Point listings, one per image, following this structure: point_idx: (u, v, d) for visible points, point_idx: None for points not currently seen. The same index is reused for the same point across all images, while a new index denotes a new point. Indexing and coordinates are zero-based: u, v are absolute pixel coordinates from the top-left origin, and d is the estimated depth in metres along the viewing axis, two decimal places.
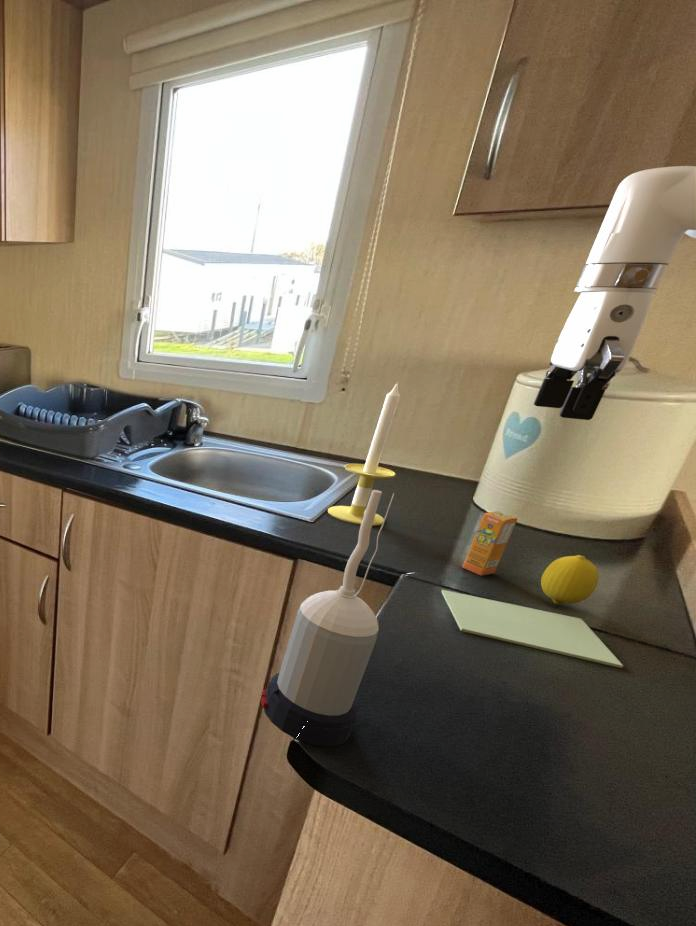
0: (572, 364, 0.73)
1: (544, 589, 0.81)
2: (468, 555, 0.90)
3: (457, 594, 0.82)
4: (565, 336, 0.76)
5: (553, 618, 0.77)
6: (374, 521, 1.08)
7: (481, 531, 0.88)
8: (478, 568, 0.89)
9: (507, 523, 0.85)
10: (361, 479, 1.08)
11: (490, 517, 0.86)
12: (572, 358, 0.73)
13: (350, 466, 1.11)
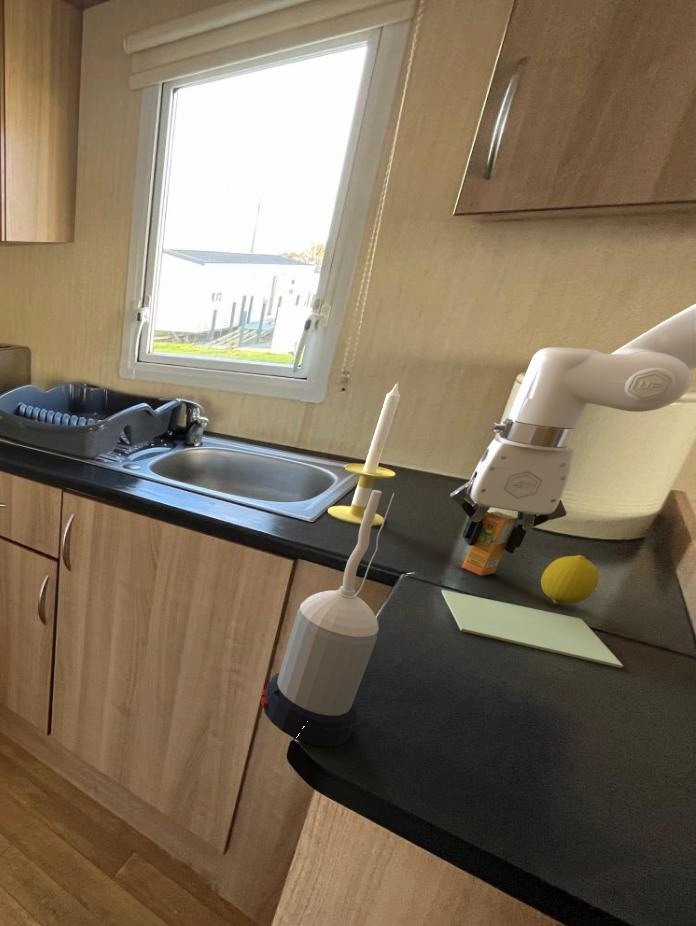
0: None
1: (544, 589, 0.81)
2: (468, 555, 0.90)
3: (457, 594, 0.82)
4: None
5: (553, 618, 0.77)
6: (374, 521, 1.08)
7: (481, 532, 0.88)
8: (478, 568, 0.89)
9: (507, 523, 0.85)
10: (361, 479, 1.08)
11: (490, 517, 0.86)
12: None
13: (350, 466, 1.11)
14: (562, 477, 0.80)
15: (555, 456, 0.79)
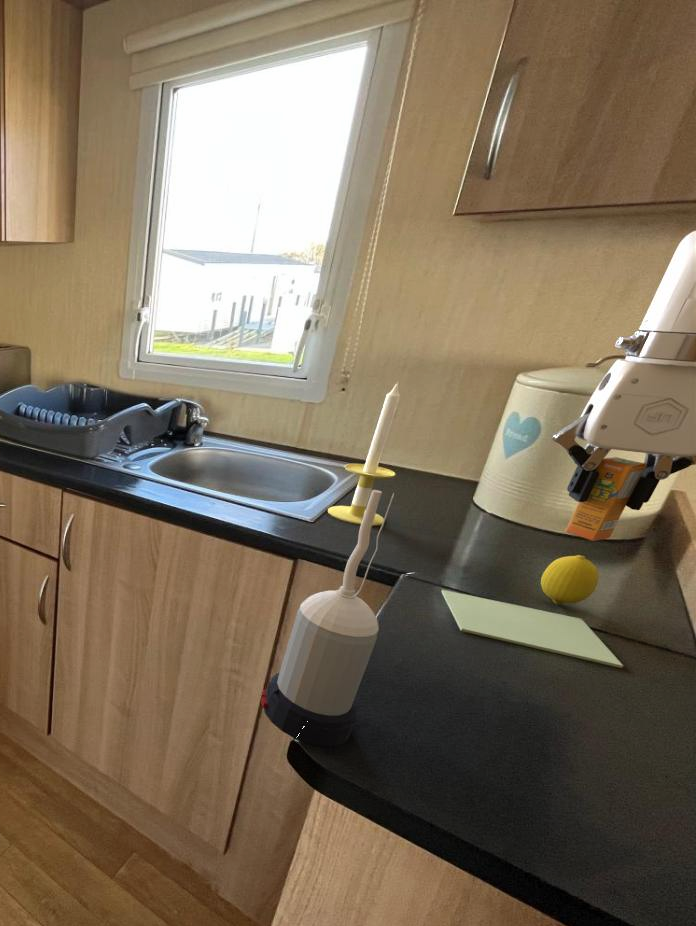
0: None
1: (544, 589, 0.81)
2: (575, 515, 0.70)
3: (457, 594, 0.82)
4: None
5: (553, 618, 0.77)
6: (374, 521, 1.08)
7: (595, 483, 0.68)
8: (589, 531, 0.69)
9: (634, 470, 0.65)
10: (361, 479, 1.08)
11: (610, 464, 0.66)
12: None
13: (350, 466, 1.11)
14: None
15: None
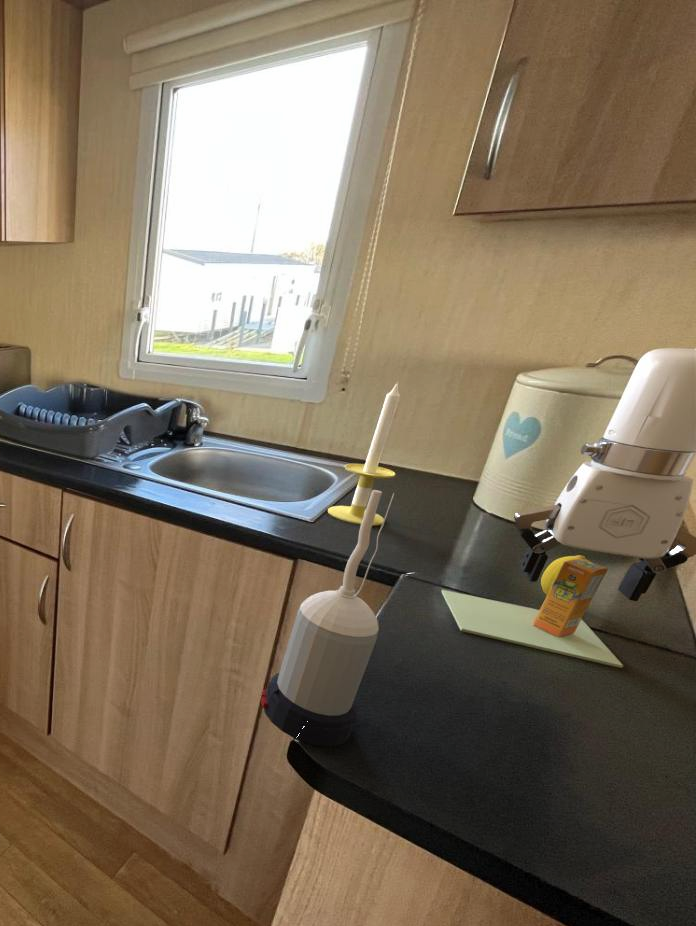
0: None
1: (544, 589, 0.81)
2: (541, 611, 0.73)
3: (457, 594, 0.82)
4: None
5: None
6: (374, 521, 1.08)
7: (559, 583, 0.71)
8: (555, 628, 0.72)
9: (596, 575, 0.68)
10: (361, 479, 1.08)
11: (573, 567, 0.70)
12: None
13: (350, 466, 1.11)
14: (678, 513, 0.63)
15: (669, 487, 0.62)
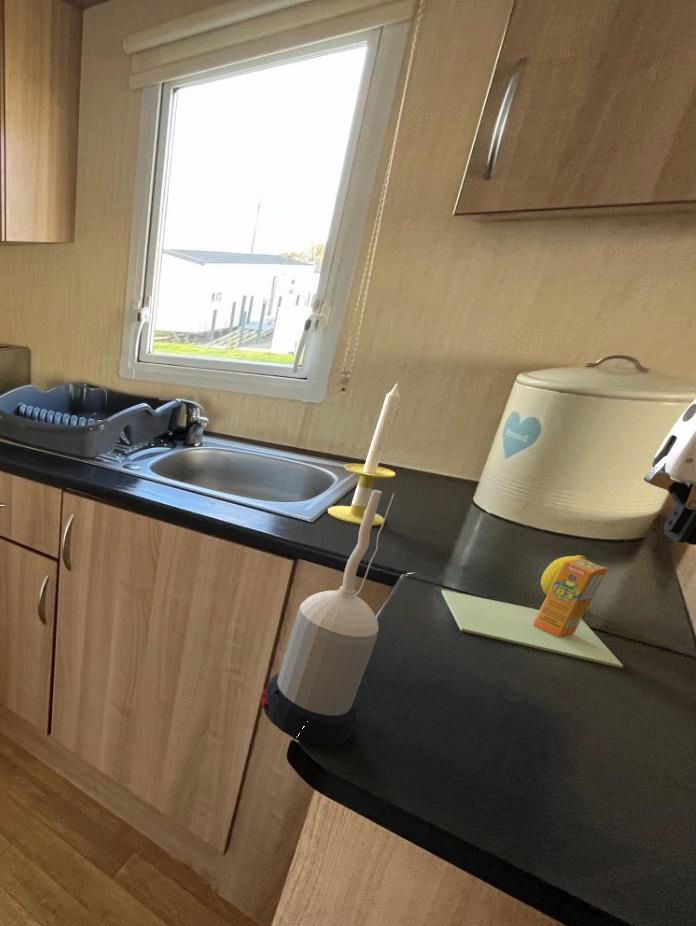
0: None
1: (544, 589, 0.81)
2: (541, 611, 0.73)
3: (457, 594, 0.82)
4: None
5: None
6: (374, 521, 1.08)
7: (559, 583, 0.71)
8: (555, 628, 0.72)
9: (596, 575, 0.68)
10: (361, 479, 1.08)
11: (573, 567, 0.70)
12: None
13: (350, 466, 1.11)
14: None
15: None
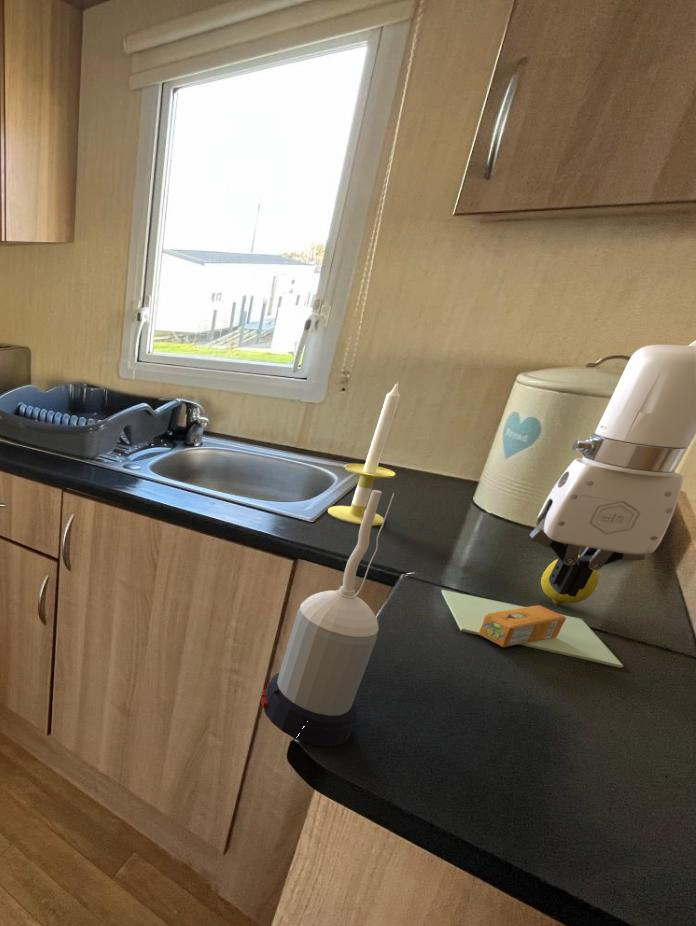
0: None
1: (544, 589, 0.81)
2: None
3: (457, 594, 0.82)
4: None
5: None
6: (374, 521, 1.08)
7: None
8: None
9: (509, 640, 0.69)
10: (361, 479, 1.08)
11: None
12: None
13: (350, 466, 1.11)
14: (667, 509, 0.63)
15: (659, 483, 0.62)
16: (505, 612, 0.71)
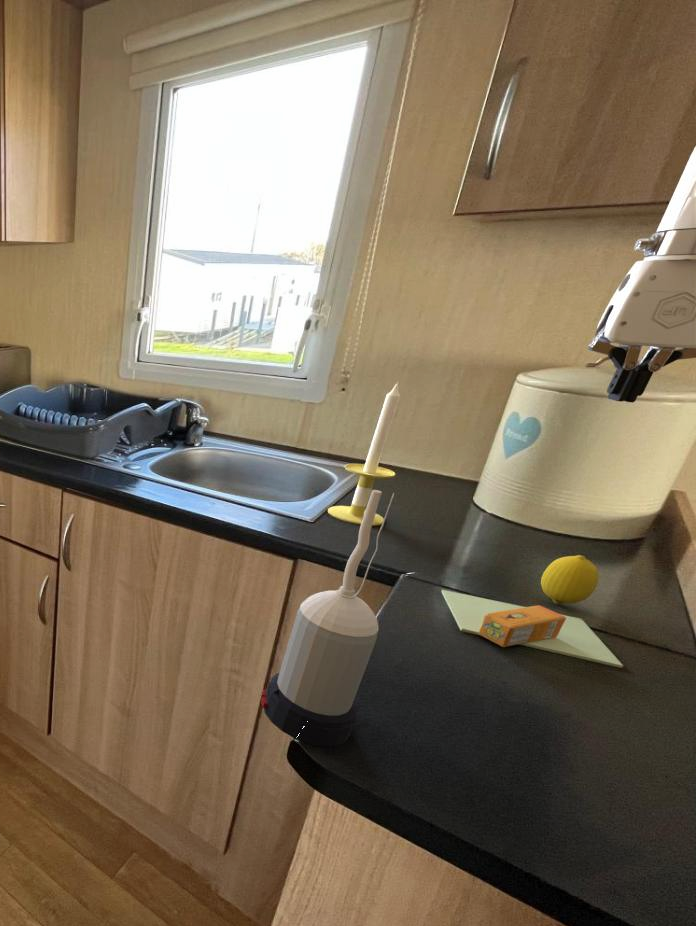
0: None
1: (544, 589, 0.81)
2: None
3: (457, 594, 0.82)
4: None
5: None
6: (374, 521, 1.08)
7: None
8: None
9: (509, 640, 0.69)
10: (361, 479, 1.08)
11: None
12: None
13: (350, 466, 1.11)
14: None
15: None
16: (505, 612, 0.71)
